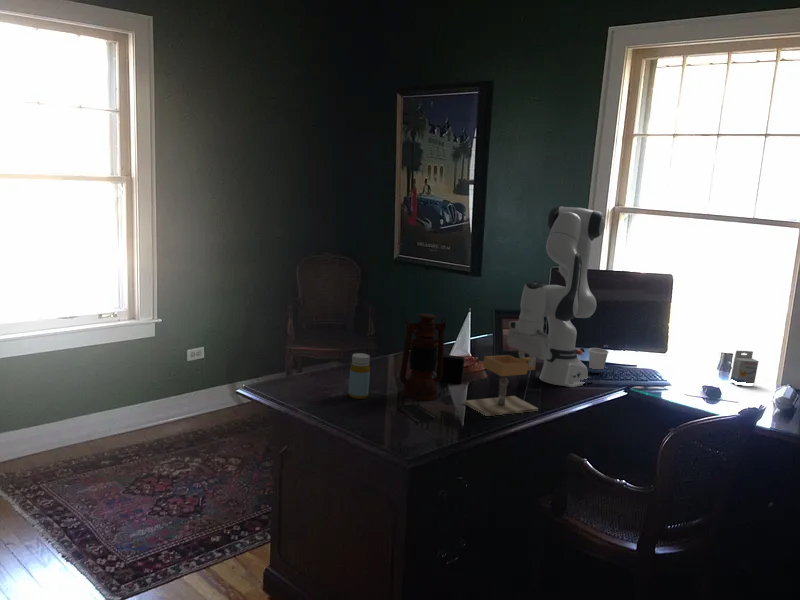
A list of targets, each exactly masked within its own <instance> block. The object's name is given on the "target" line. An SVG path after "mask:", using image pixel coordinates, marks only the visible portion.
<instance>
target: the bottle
mask: <svg viewBox="0 0 800 600" xmlns="http://www.w3.org/2000/svg"><path fill="white" fill-rule="evenodd" d="M370 359H371V356H370V354H368V353H361V352H360V353H359V352H357V353H353V354H352V356H351V365H350V368H349V380H348V381H349V382H348V396H349V397H350V398H352V399H355V400H362V399H363V400H364V399H366V398H367V397H369V387H370V374H371V368H370V367H371V366H370V362H371V361H370Z"/></svg>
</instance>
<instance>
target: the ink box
mask: <svg viewBox="0 0 800 600" xmlns="http://www.w3.org/2000/svg"><path fill="white" fill-rule="evenodd" d="M753 354H754V351H752V350H751V351H750V350H736V351H735V356H734V358H733V365H732V368H731V369H732V370H731V376H730V380H731V379H733V380H735V381H737V382H746V383H754V384H755V382H756V381H755V380H756V377H757V372H758V367H759V360H756V359H754V358H753Z"/></svg>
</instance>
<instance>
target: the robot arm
mask: <svg viewBox="0 0 800 600" xmlns="http://www.w3.org/2000/svg"><path fill="white" fill-rule="evenodd" d="M546 224H547V227H548V229H549V230H550V232H549V234H548V237H547V239H546V244H545V252H546V254H547V255H548V257H549V258H550V259H551V260H552V261H553V262H555V263H556V264H557V265H558V272H559V274H560V275H561V276H562V277H563V279H564V281H565V286H562V285H558V284H546V283H545V282H542V281H537V280H536V281H532V280H531V281H528V282H526V283H525V284H524V286H523V289H522V294H521V299H520V306H519V307H520V313H519V316H518V320H512V321H509V324H508V326H509V329H508V332H507V340H506V342H507V345H508V347H511V348H513V349H515V350H517V352H518V353H517V354H518V358H526V357H525V354H526V355H528V357H529V358H530V359H529V361H527V363H528V367H532V366H533V362H534V361H535V359H536V360H537V359H538V360H542V361H543V360H544V361H543V365H542V368H541V372H540V375H539V376H538V378H539V379H540V381H542V382H544V383H548V384H551V385H555V386H564V387H566V388H575V387H580V386H584V385H583V384H584V383H585V382H582V381H581V382H580V380H584V379H587V378H588V377H589V371H588V370H589V369H588V367H587V366H586V365H585V364H584V363H583V362H582V361H581V360H580V359H579V357H578V355H579V356H582V354H583V350H581V349H576V341H577V333H578V332H577V329H576V327H575V325H574V324H573V323H572V322H571V320H573V319H574V318H579V319H581V318H582V319H587V318H591V316H592V315H594V314H595V312H596V309H597V299H596V297H595V296H594V294H593V293H592V291H591V290H590V287H589V282H588V267H589V263H590V262H589V261H590V255H591V250H592V242H593V241H594V240H595V239H597V238H599V237H600V236H601V235H602V234H603V232H604V230H605V227H606V217H605V215H604V213H603V212H601V211H598V210H593V209H589V208H588V209H587V208H584V207H573V206H563V205H562V206H561V205H560V206H559V205H557V206H554V207H552V208H551V209H550V211H549V212H548V216H547V223H546ZM545 317H546V318H547V319H546V320H547V324H548V333H546V332H544V327H545V326H544V323H545Z"/></svg>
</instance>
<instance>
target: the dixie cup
mask: <svg viewBox="0 0 800 600" xmlns="http://www.w3.org/2000/svg"><path fill="white" fill-rule="evenodd" d="M609 352H610V351H608V350H607V349H603V348H599V347H590V348H588V354H589V355H588V358H589V359H588V369H589V368H592V369H603V370H604V369H605V365H606V361H607V357H608V354H609Z"/></svg>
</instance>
